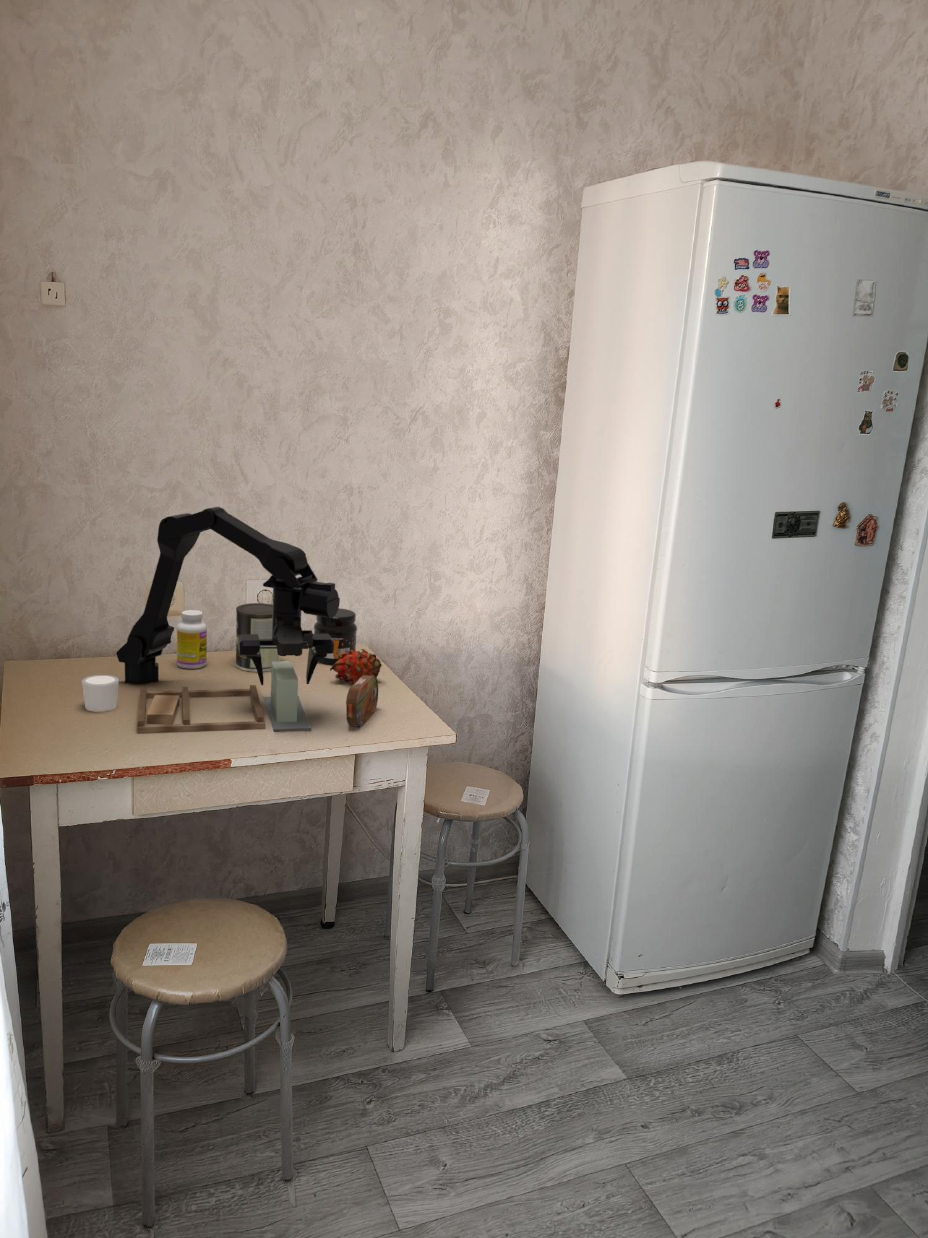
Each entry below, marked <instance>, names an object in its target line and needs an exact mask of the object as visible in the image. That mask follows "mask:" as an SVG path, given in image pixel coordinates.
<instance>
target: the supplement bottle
mask: <svg viewBox="0 0 928 1238" xmlns="http://www.w3.org/2000/svg"><path fill="white" fill-rule="evenodd" d="M203 615H204V614H203V612H202V611H201V610H197V609H188V610H187V609H186V610H182V611H181V615H180V617H181V620H182V621H181V622H178V624H177V627H176V664H177V666H178V667H180V668H182V669H188V670H195V669H201V668H204V667H205V666H206V665H207V653H208V652H207V645H208V644H207V643H208V642H207V641H208V639H207V637H208V636H207V635H208V632H207V631H208V630H207V629H208V627H207V625H206V623H205V622H204V621H203V620H202V619H203Z"/></svg>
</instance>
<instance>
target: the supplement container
mask: <svg viewBox="0 0 928 1238" xmlns="http://www.w3.org/2000/svg"><path fill="white" fill-rule="evenodd" d="M315 616H316V615H315ZM356 616H357V614H356V613H355V611H353V610H351V609H346V608H340V607H339V608H338V611H337V614H336V615H335V616H334V617H333V618H328V617H322V616H316V617H315V618H316V622H315V623H314V625H313V631H314V632H313V634H329V635H330V636H331V638H332V640H333V642H334V653H332V654H327V657H323V658H321V659H320V660H319V662H318V663H322V664H324V663H325V664H326V665H331V666H333V665H334V664H335V663H336V662H337V661H338V660H339V659H340V658H341V656H342V654H345V653H349V651H350V650H355V651H356V649H357V648H356V646H357V631H358V626H357V624H356V623H355V622H356V620H357V619H356Z"/></svg>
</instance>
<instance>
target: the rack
mask: <svg viewBox="0 0 928 1238" xmlns="http://www.w3.org/2000/svg"><path fill="white" fill-rule="evenodd" d="M258 692H259V691H258V689H257V685H255V684H252V685H251V684H250V685H249V688H233V689H230V688H226V689H225V688H224V689H190V690H189V686H181V689H179V690H148V689H147V687H140V690H139V701H138V711H137V712H138V713H137V734H139V735H140V734H162V733H163V734H164V733H166V734H167V733H190V732H193V733H194V732H217V731H218V732H219V731H222V732H223V731H245V730H265V729H266V721H265V716H264V712H263V707H262V704H261V700H260V697H259V693H258ZM155 695H180V699H181V703H182V704H181V705H182V706H181V707H182V723H173V724H146V717H147V713H146V712H147V699H149V700H151V699H152V700H153V699H154V696H155ZM221 697H223V698H225V697H226V698H227V697H228V698H229V697H249V699H250V701H251V706H252V709H253V710H252V711H253V714H254V719H255V720H254V721H252V720H251V721H227V722H225V721H224V722H221V721H220V722H198V723H197V722H196V723H193V722H192V723H191V715H190V699H191V698H221Z"/></svg>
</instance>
